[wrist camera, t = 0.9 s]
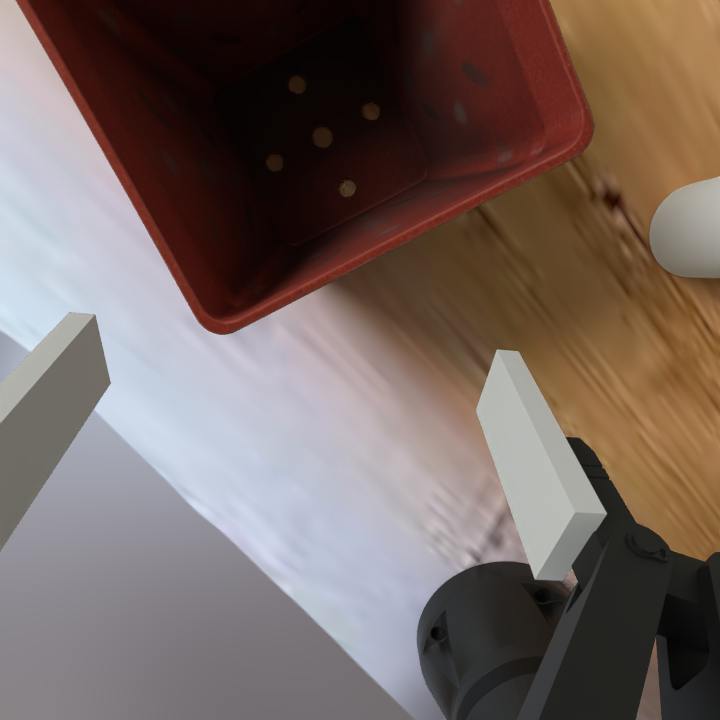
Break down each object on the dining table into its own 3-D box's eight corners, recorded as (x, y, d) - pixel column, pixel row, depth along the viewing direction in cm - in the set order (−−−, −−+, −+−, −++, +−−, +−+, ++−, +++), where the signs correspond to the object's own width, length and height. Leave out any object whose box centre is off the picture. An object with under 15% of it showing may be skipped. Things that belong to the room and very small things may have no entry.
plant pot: (492, 200, 36) (607, 141, 20) (273, 312, 38) (209, 345, 21) (383, -56, 33) (411, -384, 16) (147, 77, 34) (-45, -102, 18)
